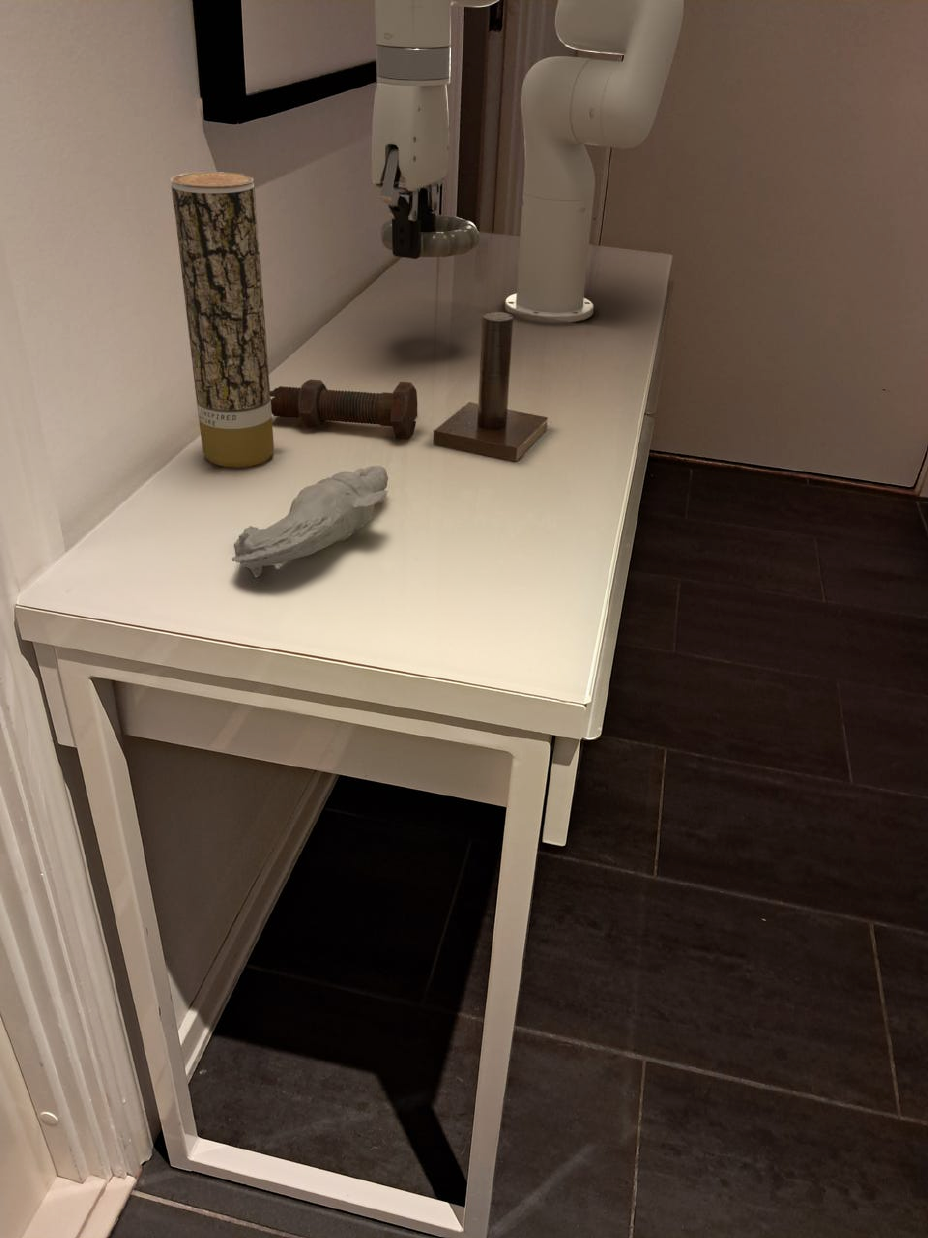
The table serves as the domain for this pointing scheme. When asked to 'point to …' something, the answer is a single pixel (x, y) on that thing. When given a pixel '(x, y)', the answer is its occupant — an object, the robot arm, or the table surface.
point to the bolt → (348, 406)
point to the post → (492, 403)
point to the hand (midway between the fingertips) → (414, 251)
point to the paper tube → (225, 314)
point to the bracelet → (441, 237)
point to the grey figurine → (315, 519)
